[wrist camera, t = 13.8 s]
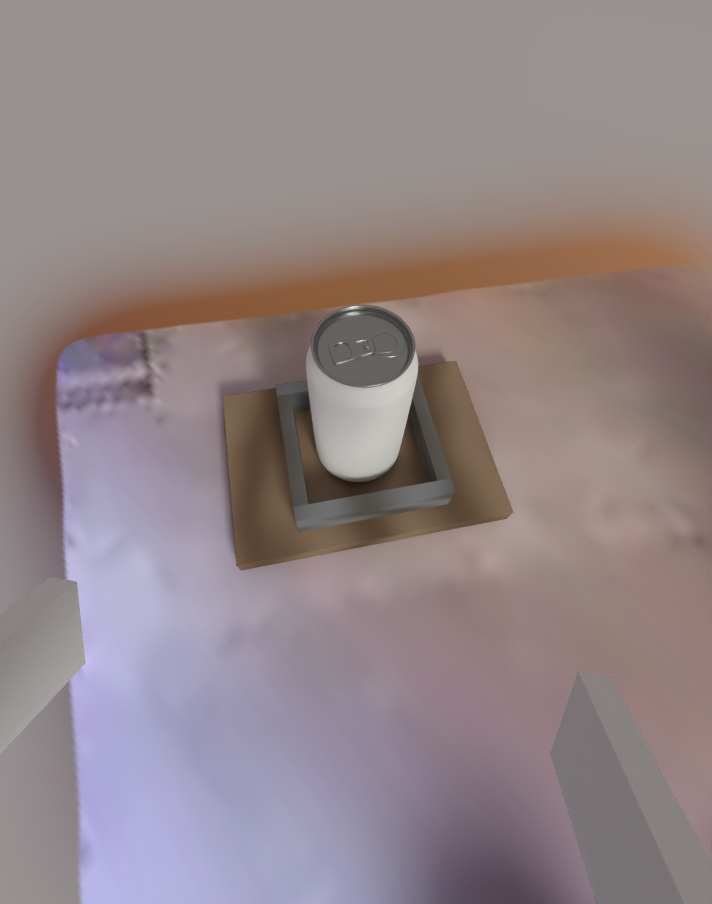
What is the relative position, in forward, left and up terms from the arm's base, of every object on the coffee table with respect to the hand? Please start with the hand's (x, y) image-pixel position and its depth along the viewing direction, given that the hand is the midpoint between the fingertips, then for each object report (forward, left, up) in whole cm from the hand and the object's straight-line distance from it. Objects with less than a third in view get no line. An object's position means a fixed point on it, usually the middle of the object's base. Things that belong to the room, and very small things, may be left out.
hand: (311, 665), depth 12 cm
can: (-5, -15, -18) cm, 24 cm away
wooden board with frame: (-5, -15, -19) cm, 24 cm away
